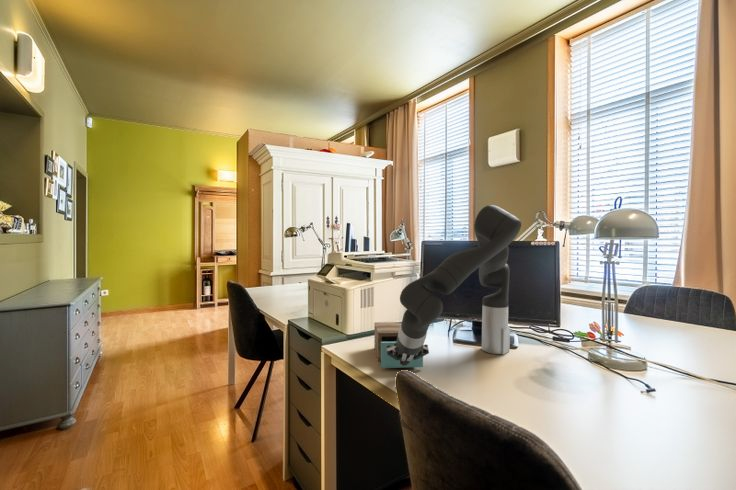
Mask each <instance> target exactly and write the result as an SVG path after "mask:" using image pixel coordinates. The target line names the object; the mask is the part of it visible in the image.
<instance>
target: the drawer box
mask: <svg viewBox="0 0 736 490" xmlns="http://www.w3.org/2000/svg"><path fill="white" fill-rule="evenodd" d="M401 324H402V321H395V322H394V321H392V322H391V321H389V322H388V321H387V322H383V321H379V322H374V342H373V343H374V346H373V347H374V351H375V355H376V358H377V359H378V360H377V359H376V360H377V362H378V361H380V362H381V342H394V341H397V337H398V331H399V328H400V325H401Z"/></svg>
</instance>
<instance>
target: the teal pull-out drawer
mask: <svg viewBox="0 0 736 490" xmlns="http://www.w3.org/2000/svg"><path fill="white" fill-rule="evenodd" d="M395 343H396V341H394V342H381V361H380V368H381V369H391V368H392V369H397V368H399V369H400V368H401V369H402V368H423V367H424V356H423V357H421V358H419V359H417V360H413V359H411V361H410V362H409V364H407V365H404V366H402V364H400V360H395V359H394V358H392V357H391V356H389V355H387V346H388V345H390V346H391V347H392V346H394V344H395ZM416 355H418V353H417V354H416Z"/></svg>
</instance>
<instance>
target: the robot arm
mask: <svg viewBox="0 0 736 490" xmlns="http://www.w3.org/2000/svg"><path fill="white" fill-rule="evenodd" d="M521 228H522V221H521V219H519V218H518V217H517V216H516V215H514V214H512V213H510V212H508V211H507V210H505V209H503V208H501V207H500V206H497V205H494V204H487V205H485V206H484V207H482V208H481V209H480V210H479V212H477V215H476V217H475V220H474V223H473V229H474V234H475V237H476V240H477V245H478V247H474V248H470V249H466V250H461V251H458V252H454V253H453V254H451V255H449V256H447V258H445V259H444V260H443V261H442V262H441V263H440V264H439V265H438V266H437V267H436V268H434V270H432V271H431V272H429V273H427V274H426V275H423V276H422V277H419V278H417V279H415V280H414V281H412V282H410V283H408V284H407V285H405V287H404V288H403V289H402V291H401V292H400V295H399V301H400V304H401V305H402V306H403V307H404V308H405V309H406V310H405V312H404V313H403V316H402V320H401V322H402V324H401V325H400V328H399V331H398V337H397V341H396V343H395V344H394V346H392V347H391V346H390V345H388V346H387V355H389V356H391V357H392V358H394V359H395V360H400V364H402V366H404V365H407V364H409V362H410V361H411V359H413V360H417V359H419V358H421V357H423V358H424V356H427V355H429V353H430V351H429V345H428V344H424V343H425V341H426V338H427V334H428V330H429V327H430V325H431V324H432V323H433V322H435V321H436V320H437V319H438V318H439V317H440V316H441V315H442V313H443V309H444V305H443V301H442V300H441V299H440V297H438V296H437V295H436V294H435V293H433V292H432V291H435V292H438V293H440V294H442V295H446V296H447V295H451V293H453V292H454V291H455V290H456V289H457V288H458V287H459V286H460V285H461V284H462V283H463V282H465V280H466V279H467V278H468V277H469V276H470V275H471V274H472V273H474V272H475V271H476V270H477V269H478V279H479V283H480V285H481V286H482V287H485V288H486V287H487V288H499V290H497V291H496V292H494V293H491V294H488V295H485V296H483V297H482V301H481V302H482V306H481V307H482V314H481V315H482V316H481V350H482V351H484V352H486V353H488V354H492V355H501V356H502V355H503V356H504V355H506V354H507V353H508V352H509V351H510V347H511V346H510V343H511V342H510V339H511V334H510V333H511V326H510V325H509V291H510V276H511V275H510V274H511V272H510V271H511V270H510V266H509V264H508V260H509V253H510V247H509V245H510V244H511V243H512V242H513V241H514V239H516V237H517V236H518V234H519V233H520V231H521ZM417 353H418V355H416V354H417Z"/></svg>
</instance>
